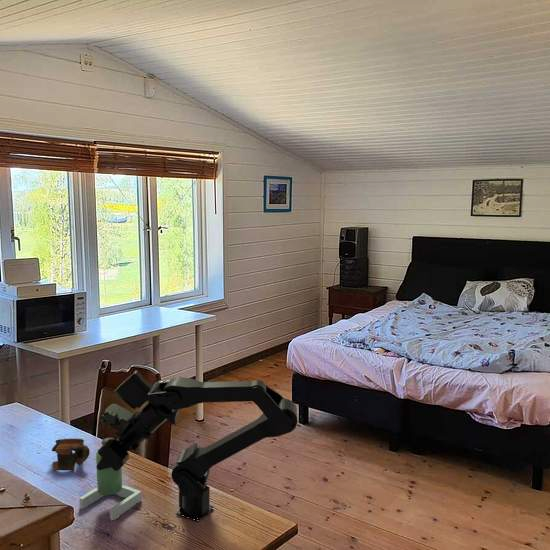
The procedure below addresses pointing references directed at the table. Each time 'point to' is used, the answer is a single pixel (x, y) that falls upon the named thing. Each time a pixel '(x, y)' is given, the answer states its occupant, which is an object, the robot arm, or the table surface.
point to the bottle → (108, 478)
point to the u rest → (131, 499)
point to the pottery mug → (69, 453)
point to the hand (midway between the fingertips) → (103, 462)
